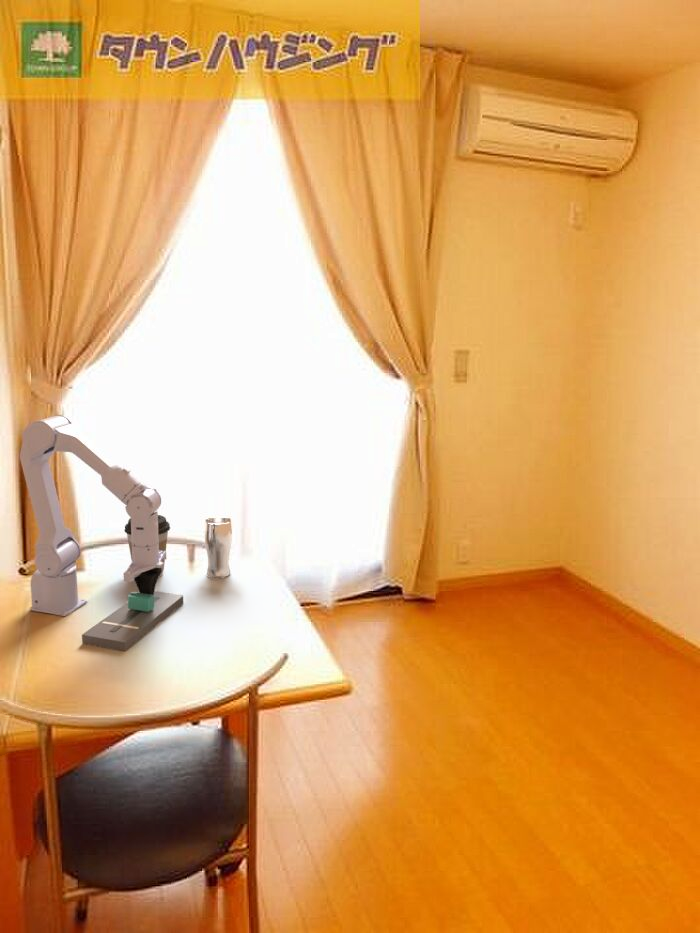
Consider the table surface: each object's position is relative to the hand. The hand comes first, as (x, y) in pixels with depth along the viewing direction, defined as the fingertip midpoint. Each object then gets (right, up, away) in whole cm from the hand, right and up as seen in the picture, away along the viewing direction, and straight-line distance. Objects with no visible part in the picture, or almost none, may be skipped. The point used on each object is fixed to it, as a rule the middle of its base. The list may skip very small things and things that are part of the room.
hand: (147, 599), depth 149 cm
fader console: (-1, -4, -4) cm, 6 cm away
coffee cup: (-7, +2, +23) cm, 24 cm away
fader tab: (-1, -1, -2) cm, 3 cm away
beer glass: (+11, +2, +25) cm, 27 cm away
